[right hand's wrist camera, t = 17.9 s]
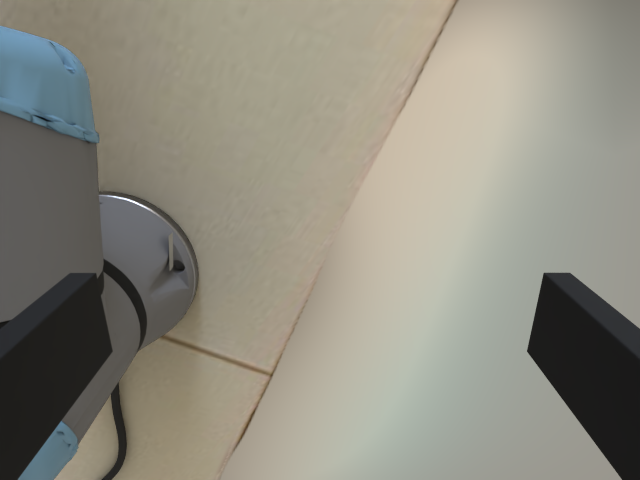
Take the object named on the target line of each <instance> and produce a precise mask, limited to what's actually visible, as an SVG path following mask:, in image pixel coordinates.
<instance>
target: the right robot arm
mask: <svg viewBox="0 0 640 480" xmlns="http://www.w3.org/2000/svg"><path fill="white" fill-rule="evenodd" d="M96 143H99V134H98V133H97V132H96V131H95V126H94V118H93V111H92V103H91V96H90V87H89V79H88V76H87V73H86V71H85V68H84V67H83V65H82V63H81V62H80V61H79V59H78V58H77V57H76V56H75V55H74V54H73V53H72V52H71V51H69V50H68V49H67V48H65V47H63V46H62V45H60V44H58V43H56V42H54V41H51V40H48V39H45V38H42V37H39V36H35V35H32V34H29V33H25V32H21V31H18V30H14V29H11V28H7V27H3V26H0V480H54V479H55V477H56V476H57V475H58V474H59V472H60V471H61V470H62V469H63V467H64V466H65V465H66V464H67V462H69V461H70V460H71V459H72V457H73V456H74V455H75V453H76V452H77V449H78V444H79V443H80V441H81V440H82V438H83V437H84V435H85V433H86V432H87V430H88V429H89V427H90V426H91V424H92V422H93V421H94V419H95V418H96V416H97V415H98V413H99V412H100V410H101V408H102V407H103V405H104V404H105V402H106V401H107V399H108V398H109V396H110V394H111V402H112V409H113V415H114V420H115V424H116V429H117V434H118V441H119V452H118V458H117V461H116V463H115V465H114V467H113V468H112V470H111V471H110V472H109V473H108V474H107V475H106V476H105V477H104V478H103V479H102V480H112V479H113V478H114V477H115V475H116V474H117V473H118V472H119V470H120V469H121V467H122V465H123V462H124V459H125V455H126V445H127V442H126V433H125V427H124V422H123V418H122V413H121V407H120V398H119V380H120V379H121V377H122V376H123V374H124V373H125V371H126V369H127V368H128V366H129V365H130V363H131V362H132V360H133V358H134V357H135V355H136V354H137V352H138V351H139V350H140V349H142V348H144V347H145V346H147V345H148V344H150V343H152V342H153V341H155V340H156V339H158V338H159V337H161V336H163V335H164V334H166V333H167V332H168V331H170V330H171V329H172V328H173V327H174V326H175V325H176V324H177V323H178V322H179V321H180V320H181V319H182V317H183V316H184V315H185V313H186V312H187V310H188V308H189V306H190V305H191V303H192V301H193V299H194V296H195V294H196V290H197V286H198V265H197V260H196V256H195V253H194V250H193V248H192V246H191V244H190V242H189V240H188V238H187V236H186V235H185V233H184V232H183V231H182V229H181V228H180V227H179V226H178V225H177V224H176V222H175V221H174V220H173V219H171V218H170V217H169V216H168V215H167V214H166V213H164V212H163V211H162V210H160V209H159V208H157V207H156V206H154V205H152V204H150V203H149V202H147V201H144V200H142V199H140V198H137V197H134V196H131V195H127V194H123V193H116V192H99V188H98V167H97V146H96ZM527 352H528V353H529V355H530V356H531V357H532V359H533V360H534V361H535V363H536V364H537V365H538V367H539V368H540V369H541V371H542V372H543V373H544V375H545V376H546V378H547V379H548V380H549V382H550V383H551V384H552V386H553V387H554V388H555V390H556V391H557V392H558V394H559V395H560V396H561V398H562V399H563V400H564V402H565V403H566V404H567V406H568V407H569V409H570V410H571V411H572V413H573V414H574V415H575V417H576V418H577V419H578V421H579V422H580V423H581V425H582V426H583V427H584V429H585V430H586V431H587V433H588V434H589V435H590V437H591V438H592V440H593V441H594V442H595V444H596V445H597V446H598V448H599V449H600V450H601V452H602V453H603V454H604V456H605V457H606V458H607V460H608V461H609V462H610V464H611V465H612V466H613V468H614V469H615V471H616V472H617V473H618V475H619V476H620V477H621V479H622V480H640V329H639V328H638V327H637V326H636V325H634V324H633V323H632V322H631V321H629V320H628V319H627V318H626V317H624V316H623V315H622V314H621V313H619V312H618V311H617V310H616V309H614V308H613V307H612V306H611V305H609V304H608V303H607V302H606V301H604V300H603V299H602V298H601V297H599V296H598V295H597V294H596V293H594V292H593V291H592V290H591V289H589V288H588V287H587V286H586V285H584V284H583V283H582V282H581V281H579V280H578V279H577V278H576V277H574V276H573V275H572V274H571V273H544V274H543V279H542V284H541V288H540V293H539V298H538V303H537V307H536V312H535V317H534V321H533V326H532V331H531V335H530V340H529V345H528V350H527Z"/></svg>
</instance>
